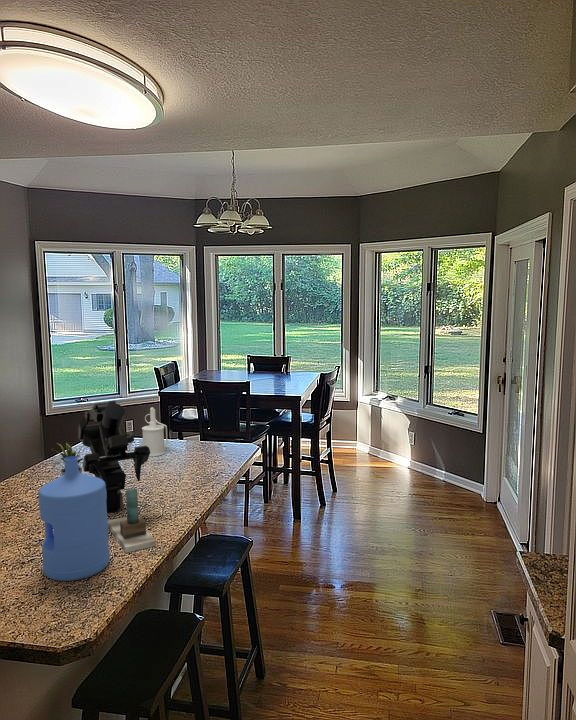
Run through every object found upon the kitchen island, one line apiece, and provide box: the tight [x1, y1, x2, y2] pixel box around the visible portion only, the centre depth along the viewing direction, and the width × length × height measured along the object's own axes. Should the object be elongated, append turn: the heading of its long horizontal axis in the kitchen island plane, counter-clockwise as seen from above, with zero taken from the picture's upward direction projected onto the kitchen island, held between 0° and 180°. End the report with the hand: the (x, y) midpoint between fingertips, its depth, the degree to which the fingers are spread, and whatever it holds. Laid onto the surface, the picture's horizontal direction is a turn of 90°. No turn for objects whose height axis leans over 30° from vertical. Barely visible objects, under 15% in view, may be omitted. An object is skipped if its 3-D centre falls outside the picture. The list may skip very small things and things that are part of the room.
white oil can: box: [141, 407, 168, 458], centre depth 237 cm, size 10×9×20 cm
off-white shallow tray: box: [107, 516, 157, 554], centre depth 157 cm, size 20×8×2 cm, turn 31°
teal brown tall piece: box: [120, 488, 147, 539], centre depth 154 cm, size 4×6×12 cm, turn 121°
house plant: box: [52, 442, 89, 476], centre depth 197 cm, size 14×14×16 cm
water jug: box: [38, 455, 111, 582], centre depth 138 cm, size 16×16×28 cm
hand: (123, 483), depth 161 cm, fingers open, 9 cm apart
